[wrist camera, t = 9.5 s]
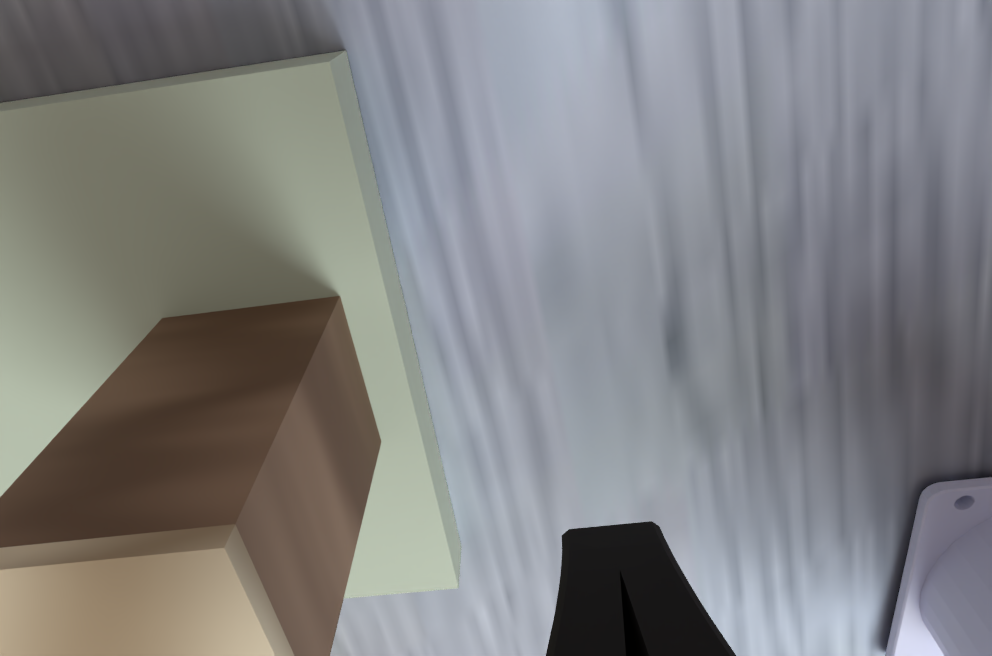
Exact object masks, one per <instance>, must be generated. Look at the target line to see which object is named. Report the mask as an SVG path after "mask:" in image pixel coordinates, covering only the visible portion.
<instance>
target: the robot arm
mask: <svg viewBox="0 0 992 656" xmlns="http://www.w3.org/2000/svg"><path fill="white" fill-rule="evenodd" d="M960 497H961V498H960ZM546 656H736V655H735V653H734V652H733V650H732V649H731V647H730V646H729V644H728V643H727V642H726V640H725V639H724V637H723V636H722V634H721V633H720V631H719V630H718V628H717V627H716V625H715V624H714V622H713V621H712V619H711V618H710V616H709V615H708V613H707V612H706V610H705V609H704V607H703V605H702V604H701V602H700V601H699V599H698V597H697V596H696V594H695V592H694V591H693V589H692V587H691V586H690V584H689V582H688V581H687V579H686V577H685V576H684V574H683V572H682V570H681V569H680V567H679V565H678V563H677V561H676V560H675V558H674V556H673V554H672V552H671V550H670V548H669V546H668V544H667V542H666V540H665V538H664V536H663V534H662V531H661V529H660V527H659V526H658V525H656V524H655V523H653V522H641V523H631V524H620V525H610V526H599V527H589V528H578V529H569V530H568V531H567V532H566V533H564V534H563V535H562V566H561V577H560V585H559V592H558V598H557V604H556V610H555V616H554V621H553V625H552V630H551V635H550V639H549V644H548V649H547V653H546ZM885 656H992V477H987V478H977V479H966V480H956V481H946V482H938V483H934V484H932V485H930V486H928V487H927V488H926V489H924V490H923V491H922V493H921V495H920V498H919V502H918V507H917V511H916V516H915V521H914V525H913V530H912V534H911V539H910V544H909V548H908V553H907V557H906V562H905V567H904V571H903V576H902V580H901V585H900V590H899V594H898V599H897V603H896V608H895V613H894V617H893V622H892V626H891V631H890V636H889V640H888V645H887V650H886V654H885Z"/></svg>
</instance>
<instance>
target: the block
mask: <svg viewBox="0 0 992 656" xmlns="http://www.w3.org/2000/svg"><path fill="white" fill-rule="evenodd" d="M380 446H381V438H380V435H379V431H378V428H377V424H376V421H375V417H374V414H373V410H372V407H371V403H370V400H369V396H368V393H367V389H366V386H365V382H364V379H363V375H362V371H361V368H360V364H359V361H358V357H357V354H356V350H355V347H354V343H353V340H352V336H351V333H350V329H349V326H348V322H347V319H346V315H345V312H344V308H343V304H342V301H341V297H340V296H335V297H327V298H319V299H311V300H303V301H295V302H287V303H279V304H271V305H263V306H255V307H247V308H239V309H231V310H223V311H215V312H207V313H199V314H191V315H183V316H175V317H167V318H162V319H161V320H160V321H159V322H158V323H157V324H156V325H155V327H154V328H153V329H152V330H151V331H150V332H149V333H148V334H147V335H146V337H145V338H144V339H143V340H142V341H141V342H140V343H139V344H138V345H137V346H136V348H135V349H134V350H133V351H132V352H131V353H130V354H129V355H128V356H127V358H126V359H125V360H124V361H123V362H122V363H121V364H120V365H119V366H118V368H117V369H116V370H115V371H114V372H113V373H112V374H111V375H110V376H109V377H108V379H107V380H106V381H105V382H104V383H103V384H102V385H101V386H100V387H99V389H98V390H97V391H96V392H95V393H94V394H93V395H92V396H91V397H90V398H89V400H88V401H87V402H86V403H85V404H84V405H83V406H82V407H81V408H80V410H79V411H78V412H77V413H76V414H75V415H74V416H73V417H72V418H71V419H70V421H69V422H68V423H67V424H66V425H65V426H64V427H63V428H62V429H61V431H60V432H59V433H58V434H57V435H56V436H55V437H54V438H53V439H52V440H51V442H50V443H49V444H48V445H47V446H46V447H45V448H44V449H43V450H42V452H41V453H40V454H39V455H38V456H37V457H36V458H35V459H34V460H33V461H32V463H31V464H30V465H29V466H28V467H27V468H26V469H25V470H24V471H23V473H22V474H21V475H20V476H19V477H18V478H17V479H16V480H15V481H14V482H13V484H12V485H11V486H10V487H9V488H8V489H7V490H6V491H5V492H4V494H3V495H2V496H1V497H0V656H330V652H331V648H332V644H333V640H334V636H335V632H336V628H337V623H338V619H339V615H340V611H341V607H342V603H343V599H344V594H345V590H346V586H347V582H348V578H349V574H350V570H351V566H352V561H353V557H354V553H355V549H356V545H357V541H358V537H359V532H360V528H361V524H362V520H363V516H364V512H365V508H366V504H367V499H368V495H369V491H370V487H371V483H372V479H373V475H374V470H375V466H376V462H377V458H378V454H379V450H380Z"/></svg>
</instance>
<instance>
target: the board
mask: <svg viewBox="0 0 992 656" xmlns="http://www.w3.org/2000/svg"><path fill="white" fill-rule="evenodd" d="M335 296H340V297H341V301H342V304H343V308H344V312H345V315H346V319H347V322H348V326H349V329H350V333H351V336H352V340H353V343H354V347H355V350H356V354H357V357H358V361H359V364H360V368H361V371H362V375H363V379H364V382H365V386H366V389H367V393H368V396H369V400H370V403H371V407H372V410H373V414H374V417H375V421H376V424H377V428H378V431H379V435H380V438H381V446H380V450H379V454H378V458H377V462H376V466H375V470H374V475H373V479H372V483H371V487H370V491H369V495H368V499H367V504H366V508H365V512H364V516H363V520H362V524H361V528H360V532H359V537H358V541H357V545H356V549H355V553H354V557H353V561H352V566H351V570H350V574H349V578H348V582H347V586H346V590H345V594H344V598H355V597H366V596H377V595H388V594H399V593H410V592H421V591H432V590H444V589H455V588H459V574H460V560H461V543H460V539H459V535H458V530H457V526H456V522H455V517H454V513H453V509H452V504H451V500H450V496H449V491H448V487H447V483H446V479H445V474H444V470H443V466H442V461H441V457H440V453H439V448H438V444H437V440H436V436H435V431H434V427H433V423H432V418H431V414H430V410H429V405H428V401H427V397H426V392H425V388H424V384H423V380H422V375H421V371H420V367H419V362H418V358H417V354H416V349H415V345H414V341H413V337H412V332H411V328H410V324H409V319H408V315H407V311H406V306H405V302H404V298H403V293H402V289H401V285H400V281H399V276H398V272H397V268H396V263H395V259H394V255H393V250H392V246H391V242H390V237H389V233H388V229H387V225H386V220H385V216H384V212H383V207H382V203H381V199H380V194H379V190H378V186H377V182H376V177H375V173H374V169H373V164H372V160H371V156H370V151H369V147H368V143H367V139H366V134H365V130H364V126H363V121H362V117H361V113H360V108H359V104H358V100H357V95H356V91H355V87H354V83H353V78H352V74H351V70H350V65H349V61H348V57H347V52H346V50H344V51H338V52H331V53H325V54H318V55H312V56H305V57H298V58H292V59H285V60H279V61H272V62H266V63H259V64H253V65H246V66H239V67H233V68H226V69H220V70H213V71H207V72H200V73H194V74H187V75H180V76H174V77H167V78H161V79H154V80H148V81H141V82H134V83H128V84H121V85H115V86H108V87H102V88H95V89H89V90H82V91H75V92H69V93H62V94H56V95H49V96H43V97H36V98H30V99H23V100H16V101H10V102H3V103H0V497H1V496H2V495H3V494H4V492H5V491H6V490H7V489H8V488H9V487H10V486H11V485H12V484H13V482H14V481H15V480H16V479H17V478H18V477H19V476H20V475H21V474H22V473H23V471H24V470H25V469H26V468H27V467H28V466H29V465H30V464H31V463H32V461H33V460H34V459H35V458H36V457H37V456H38V455H39V454H40V453H41V452H42V450H43V449H44V448H45V447H46V446H47V445H48V444H49V443H50V442H51V440H52V439H53V438H54V437H55V436H56V435H57V434H58V433H59V432H60V431H61V429H62V428H63V427H64V426H65V425H66V424H67V423H68V422H69V421H70V419H71V418H72V417H73V416H74V415H75V414H76V413H77V412H78V411H79V410H80V408H81V407H82V406H83V405H84V404H85V403H86V402H87V401H88V400H89V398H90V397H91V396H92V395H93V394H94V393H95V392H96V391H97V390H98V389H99V387H100V386H101V385H102V384H103V383H104V382H105V381H106V380H107V379H108V377H109V376H110V375H111V374H112V373H113V372H114V371H115V370H116V369H117V368H118V366H119V365H120V364H121V363H122V362H123V361H124V360H125V359H126V358H127V356H128V355H129V354H130V353H131V352H132V351H133V350H134V349H135V348H136V346H137V345H138V344H139V343H140V342H141V341H142V340H143V339H144V338H145V337H146V335H147V334H148V333H149V332H150V331H151V330H152V329H153V328H154V327H155V325H156V324H157V323H158V322H159V321H160V320H161V319H162V318H167V317H175V316H183V315H191V314H199V313H207V312H215V311H223V310H231V309H239V308H247V307H255V306H263V305H271V304H279V303H287V302H295V301H303V300H311V299H319V298H327V297H335Z"/></svg>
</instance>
